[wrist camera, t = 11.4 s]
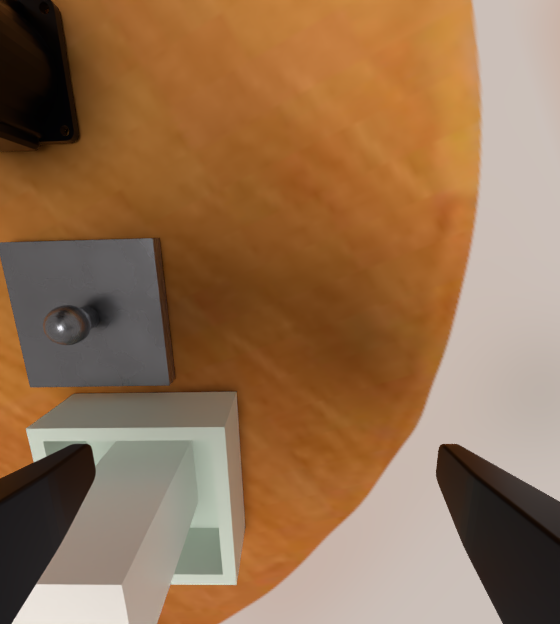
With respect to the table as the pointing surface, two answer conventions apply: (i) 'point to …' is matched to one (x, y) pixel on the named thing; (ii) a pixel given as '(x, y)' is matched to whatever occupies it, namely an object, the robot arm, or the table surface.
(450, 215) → the table surface
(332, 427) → the table surface
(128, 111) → the table surface
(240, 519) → the bin
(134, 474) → the grey tall block
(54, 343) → the stud plate
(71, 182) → the table surface
